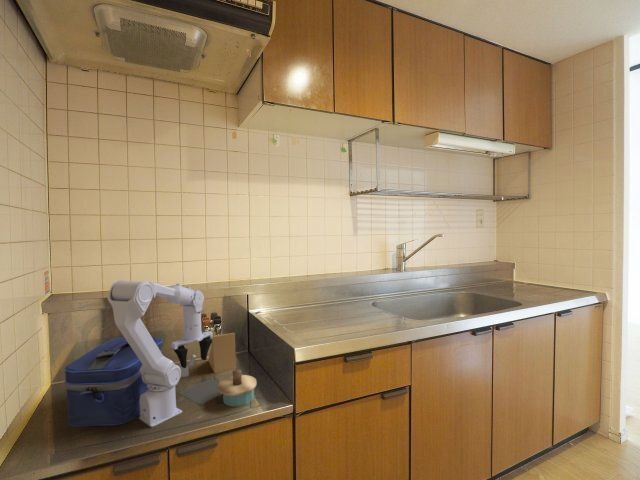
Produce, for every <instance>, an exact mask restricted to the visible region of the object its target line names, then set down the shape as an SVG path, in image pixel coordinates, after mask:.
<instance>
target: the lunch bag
mask: <svg viewBox="0 0 640 480" xmlns="http://www.w3.org/2000/svg"><path fill="white" fill-rule="evenodd" d="M152 338H153V340H154V342H155V343H156V345H157V347H158V348H159V350H160V352H161V353H162V345H163V344H162V343H163V340H164V339H162V338H160V337H152ZM141 366H142V363H141V361H140V360H139V358H138V357H137V355H136V354H135V352H134V351H133V349H132V348H131V346H130V345H129V343H128V342H127V340H126V339H125V337H124V336H123V337H113V338H111V339H109V340H107V341H105V342H103V343H102V344H100V345H98V346H96V347H94V348H93V349H92V350H89V352H86V353H84V355H82V356H80V357H78V358H77V359H76V360H74V361H72V362H70V363H69V364H67V365H66V366H65V367H64V374H65V377H64V378H65V380H64V385H65V388H66V404H67V418H66V419H67V424H68V426H69V427H72V428H79V427H80V428H81V427H82V428H83V427H93V426H95V427H96V426H118V425H123V424H126V423H129V422H131V421H133V420H134V419H136V418H138V416H140V395H141V394H143V393H144V392H146V391H147V390H148V389H149V388H147V384H145V383H144V382H143V380H142V374H141V372H140V368H141Z"/></svg>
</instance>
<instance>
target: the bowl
mask: <svg viewBox="0 0 640 480" xmlns="http://www.w3.org/2000/svg"><path fill="white" fill-rule="evenodd" d="M254 398H255V388H254V389H253V390H251V391H250V392H247V393H245V394H241V395H224V394H222V401H223V404H224V405H226V406H228V407H242V406H245V405H248V404H249V403H251V402H252V401H253V399H254Z"/></svg>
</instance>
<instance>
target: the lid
mask: <svg viewBox="0 0 640 480" xmlns="http://www.w3.org/2000/svg"><path fill="white" fill-rule="evenodd" d="M219 382H220V383H219V384H218V391H219V392H220V393H221V394H222V395H223V394H224V395H241V394H245V393H247V392H250V391H251V390H253V389H254V390H255V389H256V387H257V378H255V377H254V376H252V375H247V374H242V369H233V371H232V376H228V377H226V378H224V379H222V380H221V381H219Z"/></svg>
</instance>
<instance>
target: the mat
mask: <svg viewBox="0 0 640 480" xmlns="http://www.w3.org/2000/svg"><path fill="white" fill-rule="evenodd" d="M220 382H221V381H218V380H216V379H213V378H210V379H206V380H205V381H202V382H201V383H198V384H195V385H193V386H191V387H189V388H186V389H185V390H183V391H180V392H178V394H179V395H180V396H183V397H184V398H186V399H188V400H190V401H192V402H194V403H196V404H198V405H200V406H202V405H203V404H205V403H208V402H210V401H211V400H213V399H215V398H217V397H220V396H223V394H221V393H220V392H219V391H218V384H219V383H220Z"/></svg>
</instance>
